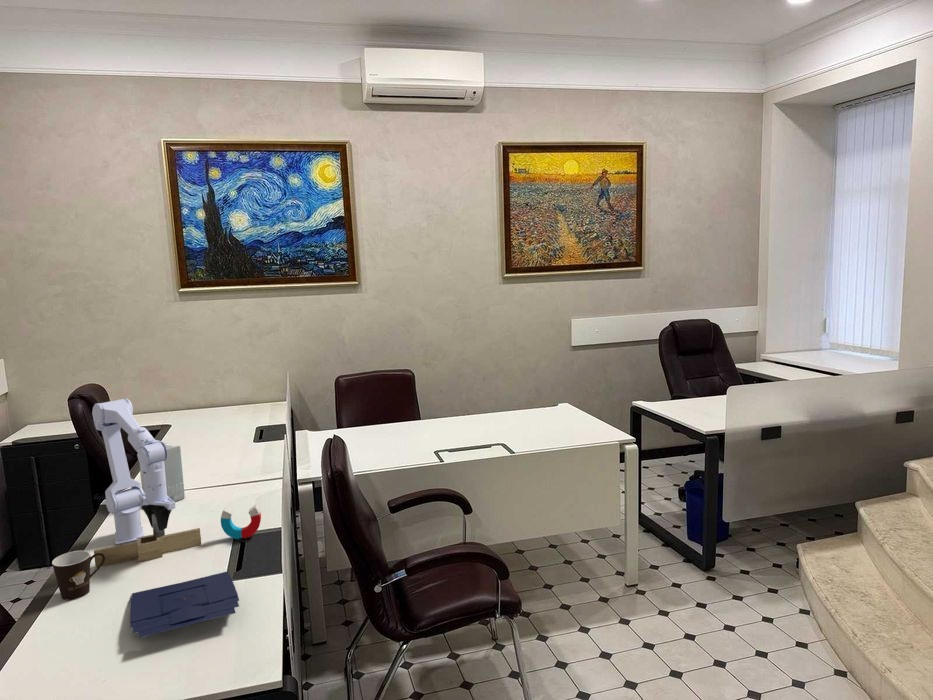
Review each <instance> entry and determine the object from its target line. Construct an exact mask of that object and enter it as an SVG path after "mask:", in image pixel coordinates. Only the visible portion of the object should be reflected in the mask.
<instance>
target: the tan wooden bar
mask: <svg viewBox="0 0 933 700" xmlns="http://www.w3.org/2000/svg"><path fill="white" fill-rule="evenodd" d="M201 536H202V535H201V528H200V527H198V528H192V529H189V530H182V531H179V532H174V533H169V534H165V535H164V536H162V537H159V538H155V537H154V535H153V534H148V535H144V536H143V537H138V538H137V540H135V541H131V542H126V543H121V544H115V545H112V546H106V547H103V548H98V549H94V550H93V555H94V554H96V553H102V554H104V556H105V561H104V563H103V565H102V566H101V568H102V567H107V566H111V565H115V564H119V563H124V562H130V561H134V560H138V563H143V562H146V561H151V560H154V559H159V558H163V554H166V553H170V552H175V551H179V549H180V550H184V549H188V548H192V547H198V546H202V537H201ZM93 559H94V566H95V567H94V568H95V569H97V568H98V567H99V565H100V564H101V562H102V560H103V557H102V556H101V555H97V556H95V557H94V558H93Z"/></svg>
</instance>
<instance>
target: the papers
mask: <svg viewBox="0 0 933 700" xmlns="http://www.w3.org/2000/svg"><path fill="white" fill-rule="evenodd" d="M236 589H237V588H236V586H235V584H234V581H233V578H232V576H231V574H230V573H229V572H228V571H223V572H219V573H216V574H211V575H207V576H203V577H199V578H195V579H190V580H186V581H183V582H178V583H174V584H173V583H172V584H167V585H164V586H159V587H154V588H150V589H146V590H145V589H144V590H142V591H137V592H132V593H131V597H130V604H129V605H130V606H129V607H130V609H129V612H130V613H129V627H130V629H132V634H137V633H138V638H139V639H141V638H144V637H149V636H152V635H156V634H160V633H164V632H166V631H167V632H168V631H171V630H175V629H180V628H183V627H186V626H187V627H188V626H190V625H193V624H197V623H198V624H199V623H202V622H205V621H209V620H214V619H217V618H222V617H225V616H230V615H234V614H236V613H237V612H236V610H235V608H239V607H240V604H239V602H240V598H239V593H238V592H237V590H236Z"/></svg>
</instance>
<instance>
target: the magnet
mask: <svg viewBox="0 0 933 700" xmlns="http://www.w3.org/2000/svg"><path fill="white" fill-rule="evenodd" d="M233 512H234V511H233V510H232V509H230V508H228V507H226V506H225V507H224V508H223V511H222V513H221V515H220V526H221V528H222V530H223V532H224V533H225V534H226V536H228V537H230V538H232V539H235V540H240V539H239V538H245V539H248V538H250V537H252V536H253V535H254V534H256V533H257V531H258V529H259V528H260V525H261V522H262V513H261V510H260V507H259V505H258V504H254V505H253V506H252V507H250V508H249V510H248V515H249V517H250V522H249V524H248V525H247V526H245V527H240V526H237V525H235V524H234V522H233V521H232V515H233ZM247 537H248V538H247Z"/></svg>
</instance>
